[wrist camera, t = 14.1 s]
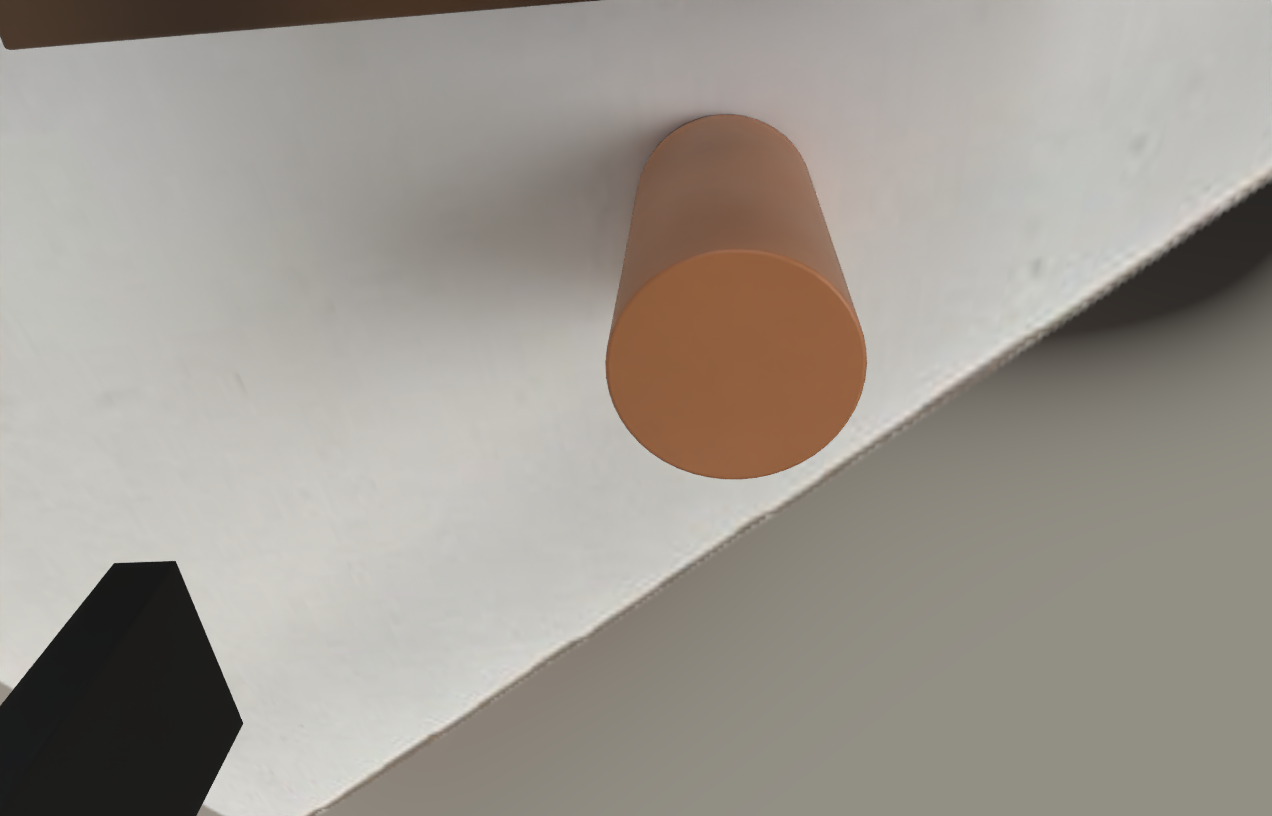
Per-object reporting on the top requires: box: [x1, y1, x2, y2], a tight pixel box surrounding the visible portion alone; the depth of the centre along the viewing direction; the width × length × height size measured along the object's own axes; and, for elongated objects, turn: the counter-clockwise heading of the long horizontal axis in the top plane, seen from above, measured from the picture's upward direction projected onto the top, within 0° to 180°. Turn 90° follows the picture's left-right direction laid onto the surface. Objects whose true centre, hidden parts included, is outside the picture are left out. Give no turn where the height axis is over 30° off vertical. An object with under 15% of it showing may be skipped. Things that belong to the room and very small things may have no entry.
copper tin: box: [606, 115, 867, 479], centre depth 22 cm, size 5×5×10 cm
